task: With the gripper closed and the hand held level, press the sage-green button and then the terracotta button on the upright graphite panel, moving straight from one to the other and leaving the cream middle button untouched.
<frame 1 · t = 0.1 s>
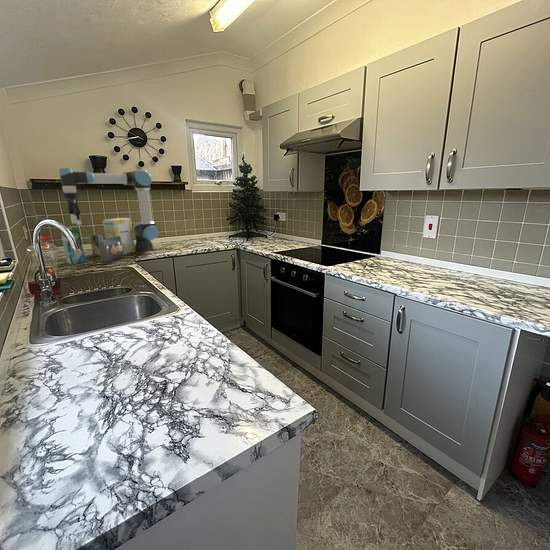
hand: (76, 224, 208), 28 cm above the worktop, tool pointing down, fingers open, 13 cm apart
coffee box: (100, 254, 243), on the worktop
sage green button: (124, 246, 227), point 9 cm above the worktop, slide at 0.0 cm
pasta box: (122, 253, 246), on the worktop
button panel: (113, 260, 222), on the worktop
milk carton: (76, 263, 217), on the worktop
cream button: (118, 248, 220), point 9 cm above the worktop, slide at 0.0 cm
terracotta button: (113, 250, 212), point 9 cm above the worktop, slide at 0.0 cm
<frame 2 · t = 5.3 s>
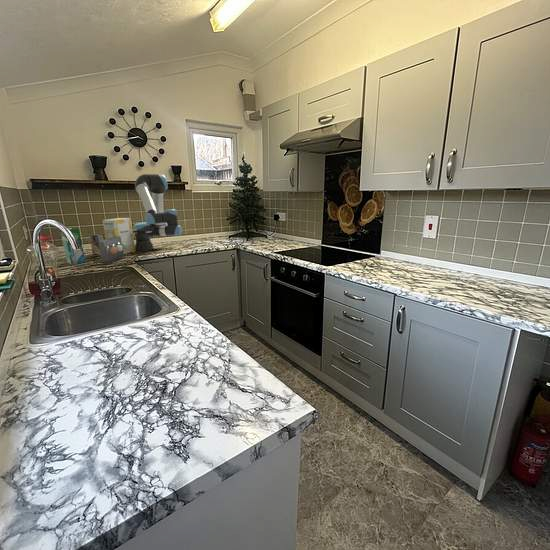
hand: (129, 231, 224), 20 cm above the worktop, tool horizontal, fingers closed
nothing on the worktop moved.
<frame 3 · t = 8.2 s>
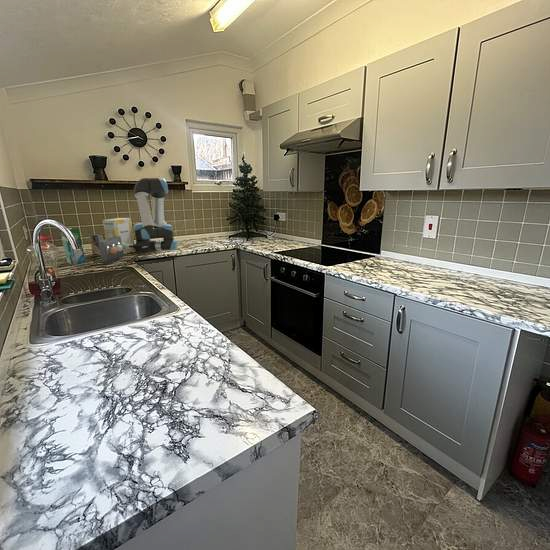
hand: (125, 246, 227), 9 cm above the worktop, tool horizontal, fingers closed
sage green button: (123, 246, 227), point 9 cm above the worktop, slide at 0.5 cm, touching gripper
everything else where it was.
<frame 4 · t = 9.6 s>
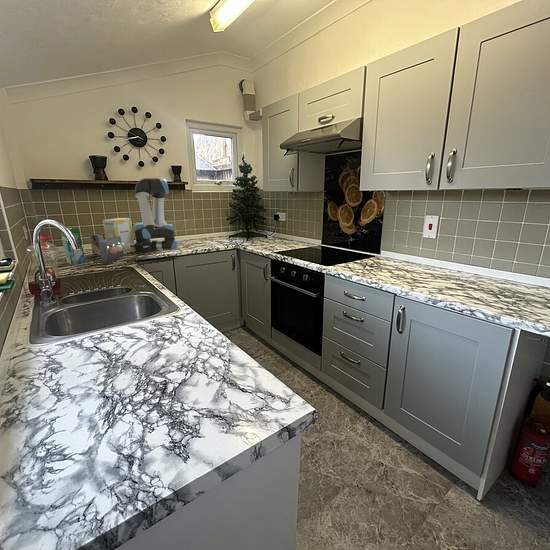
hand: (127, 245, 228), 9 cm above the worktop, tool horizontal, fingers closed
sage green button: (121, 246, 227), point 9 cm above the worktop, slide at 1.7 cm
everything else where it was.
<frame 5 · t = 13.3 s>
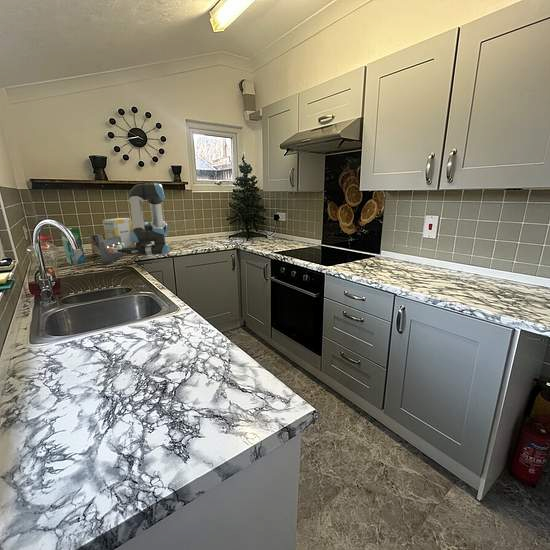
hand: (113, 250, 212), 9 cm above the worktop, tool horizontal, fingers closed
terracotta button: (111, 250, 212), point 9 cm above the worktop, slide at 1.4 cm, touching gripper
everything else where it was.
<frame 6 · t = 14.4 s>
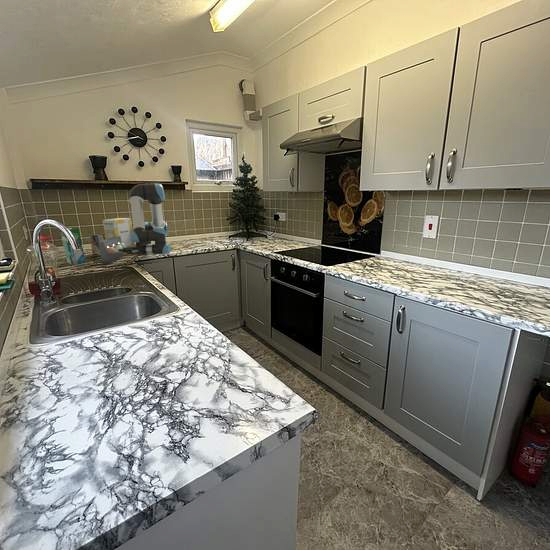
hand: (114, 250, 212), 9 cm above the worktop, tool horizontal, fingers closed
terracotta button: (111, 250, 212), point 9 cm above the worktop, slide at 1.7 cm
everything else where it was.
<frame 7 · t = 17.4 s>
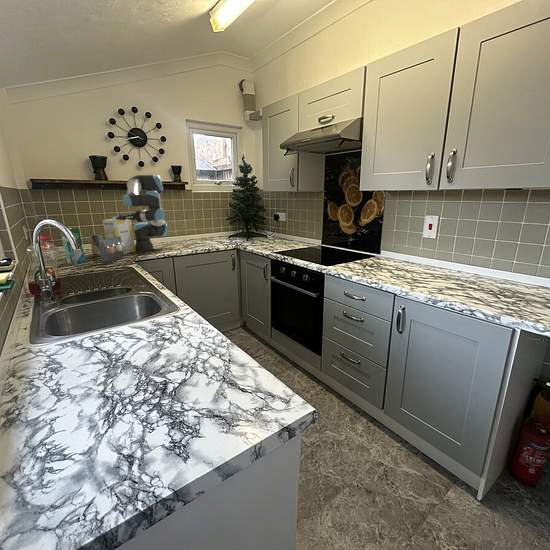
hand: (113, 218, 210), 31 cm above the worktop, tool horizontal, fingers closed
nothing on the worktop moved.
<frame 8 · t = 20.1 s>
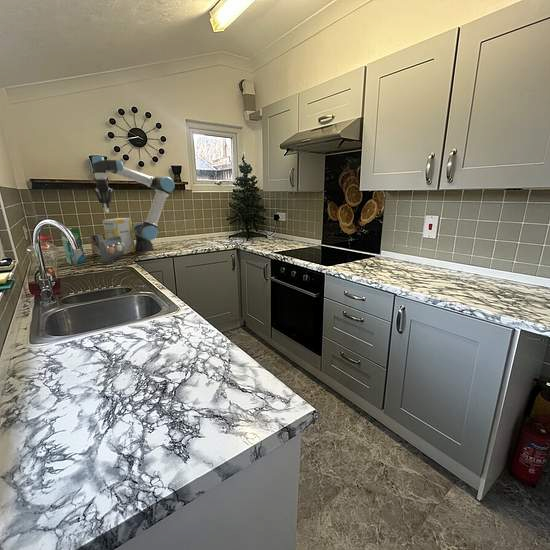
hand: (107, 212, 221), 34 cm above the worktop, tool pointing down, fingers closed
nothing on the worktop moved.
at the end: sage green button slide at 1.7 cm; terracotta button slide at 1.7 cm; cream button slide at 0.0 cm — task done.
